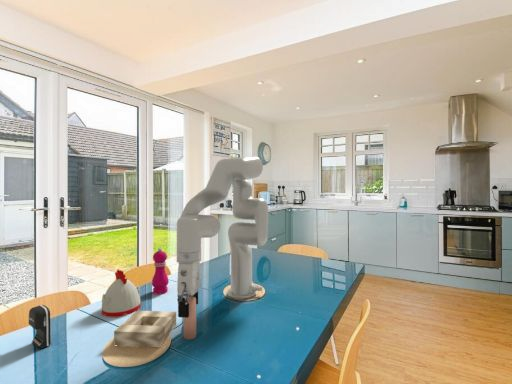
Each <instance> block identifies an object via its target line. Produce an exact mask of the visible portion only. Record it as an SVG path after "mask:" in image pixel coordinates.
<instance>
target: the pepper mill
mask: <svg viewBox="0 0 512 384" xmlns="http://www.w3.org/2000/svg"><path fill="white" fill-rule="evenodd" d="M167 258H168V255H167V252H165V251H163V249H162V247H158V248H157V251H156V252H155V253H153V255H152V260H153V261H154V269H155V270H154V271H155V272H154V274H153V277H152V280H151V285H152V287H153V289H152V294H154V295H163V294H166V293H168V291H169V289H168V284H169V277H168V276H169V275H167V273H166V265H167V264H166V262H167V261H166V260H167Z"/></svg>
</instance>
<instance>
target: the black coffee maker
mask: <svg viewBox="0 0 512 384" xmlns="http://www.w3.org/2000/svg"><path fill="white" fill-rule="evenodd" d="M28 311H29V312H28V324H29V326H30V327H32V328H33V329H34V330H36V331H35V334H34V335H35V336H34V337H33V339H32V341H31V343H32V345H33V346H34V347H35V348H37V349H44V348H46V346H47V347H49V346H51V345H52V342H51V340H52V339H51V311H50V308H49V307H47V306H46V305H44V304H39V305H36V306H33V307H32V308H30V309H29V310H28Z"/></svg>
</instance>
